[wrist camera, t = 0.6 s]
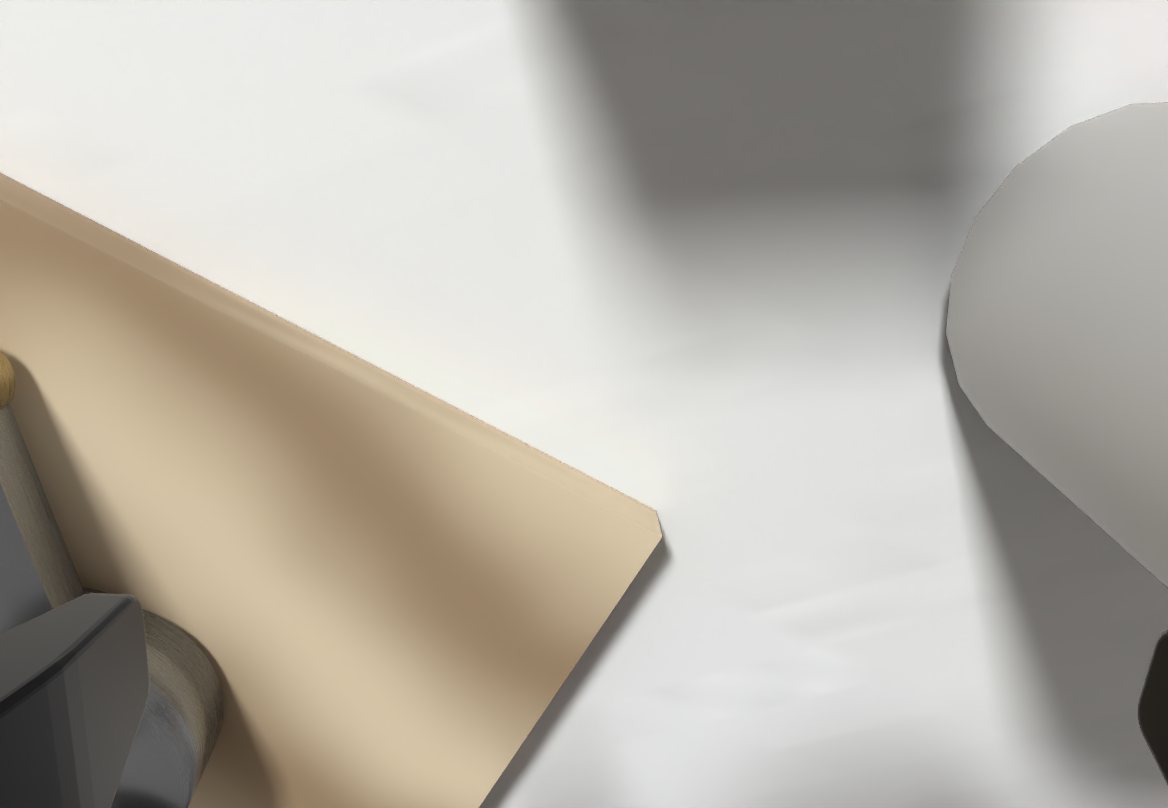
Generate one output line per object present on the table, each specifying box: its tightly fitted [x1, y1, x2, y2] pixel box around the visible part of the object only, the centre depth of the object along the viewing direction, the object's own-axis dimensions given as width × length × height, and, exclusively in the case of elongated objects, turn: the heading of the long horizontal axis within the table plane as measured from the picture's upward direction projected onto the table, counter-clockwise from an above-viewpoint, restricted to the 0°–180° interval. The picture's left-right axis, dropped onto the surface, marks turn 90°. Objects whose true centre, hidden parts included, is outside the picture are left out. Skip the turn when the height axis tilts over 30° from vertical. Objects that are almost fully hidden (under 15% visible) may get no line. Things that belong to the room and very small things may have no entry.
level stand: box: [0, 173, 662, 808], centre depth 20 cm, size 18×17×6 cm
